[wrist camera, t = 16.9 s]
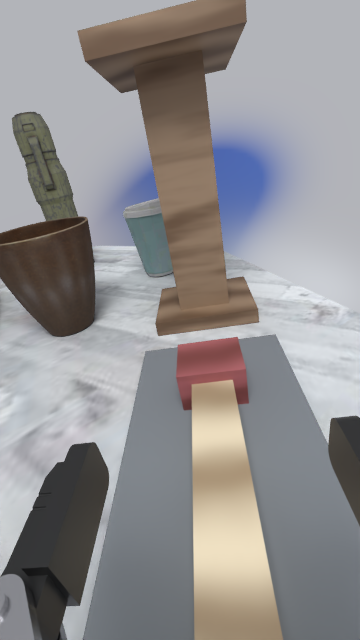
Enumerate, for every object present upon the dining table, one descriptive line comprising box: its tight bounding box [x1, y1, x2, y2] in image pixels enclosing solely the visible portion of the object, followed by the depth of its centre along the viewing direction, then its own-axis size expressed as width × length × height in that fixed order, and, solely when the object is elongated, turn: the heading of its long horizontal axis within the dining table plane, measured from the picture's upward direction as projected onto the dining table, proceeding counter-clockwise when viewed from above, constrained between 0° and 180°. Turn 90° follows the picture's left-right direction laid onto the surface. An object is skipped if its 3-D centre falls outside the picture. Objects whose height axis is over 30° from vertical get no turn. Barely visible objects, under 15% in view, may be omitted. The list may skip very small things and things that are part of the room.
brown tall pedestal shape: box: [78, 0, 259, 336], centre depth 39 cm, size 16×14×32 cm
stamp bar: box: [176, 337, 283, 640], centre depth 21 cm, size 23×6×4 cm, turn 179°
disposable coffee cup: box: [123, 198, 173, 277], centre depth 62 cm, size 11×11×15 cm
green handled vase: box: [12, 112, 95, 262], centre depth 74 cm, size 9×12×35 cm
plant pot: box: [0, 217, 95, 336], centre depth 46 cm, size 15×15×16 cm
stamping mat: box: [83, 335, 360, 640], centre depth 25 cm, size 28×16×1 cm, turn 179°
